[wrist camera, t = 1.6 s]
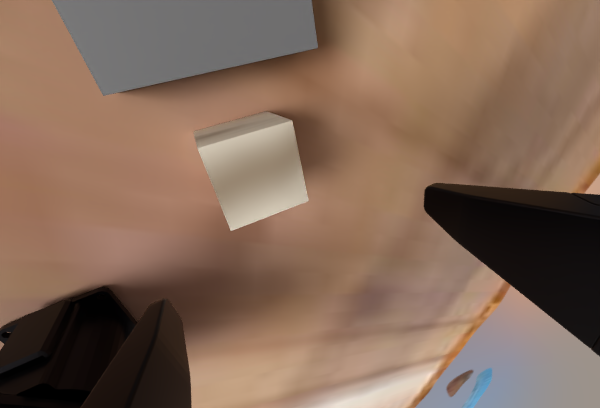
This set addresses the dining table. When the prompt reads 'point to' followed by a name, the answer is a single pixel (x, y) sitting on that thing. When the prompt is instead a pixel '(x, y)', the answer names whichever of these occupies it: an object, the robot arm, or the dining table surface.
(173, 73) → the base
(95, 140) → the dining table surface
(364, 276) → the dining table surface
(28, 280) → the dining table surface
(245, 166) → the cube
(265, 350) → the dining table surface
